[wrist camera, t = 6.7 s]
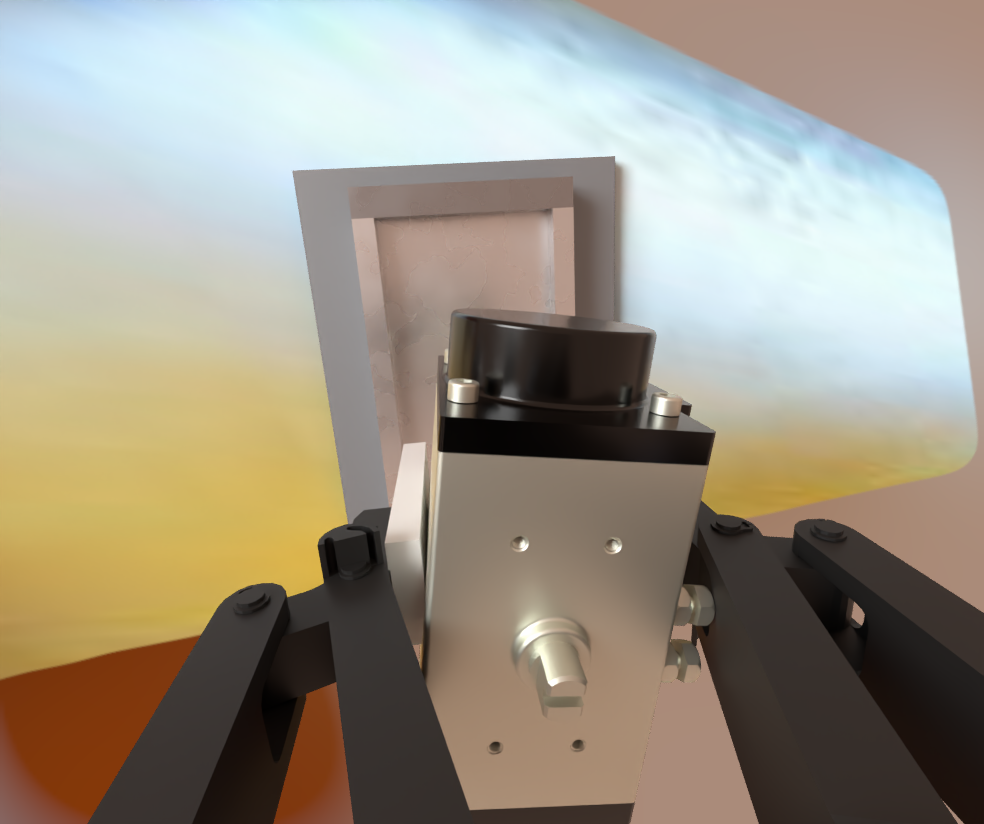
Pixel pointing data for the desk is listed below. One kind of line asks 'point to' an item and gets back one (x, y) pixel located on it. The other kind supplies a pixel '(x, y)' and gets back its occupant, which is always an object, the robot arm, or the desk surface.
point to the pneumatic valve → (557, 561)
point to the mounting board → (342, 300)
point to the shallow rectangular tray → (450, 280)
